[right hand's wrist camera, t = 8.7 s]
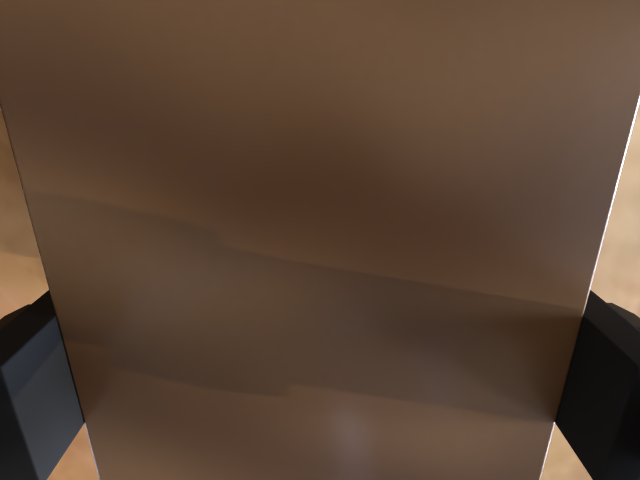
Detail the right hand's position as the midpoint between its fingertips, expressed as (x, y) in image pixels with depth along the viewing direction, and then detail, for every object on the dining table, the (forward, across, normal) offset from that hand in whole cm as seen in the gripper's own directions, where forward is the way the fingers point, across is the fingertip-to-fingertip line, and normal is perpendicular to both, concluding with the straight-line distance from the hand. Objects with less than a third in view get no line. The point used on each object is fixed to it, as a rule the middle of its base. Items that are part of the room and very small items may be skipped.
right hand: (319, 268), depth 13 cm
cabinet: (+7, 0, -4) cm, 8 cm away
